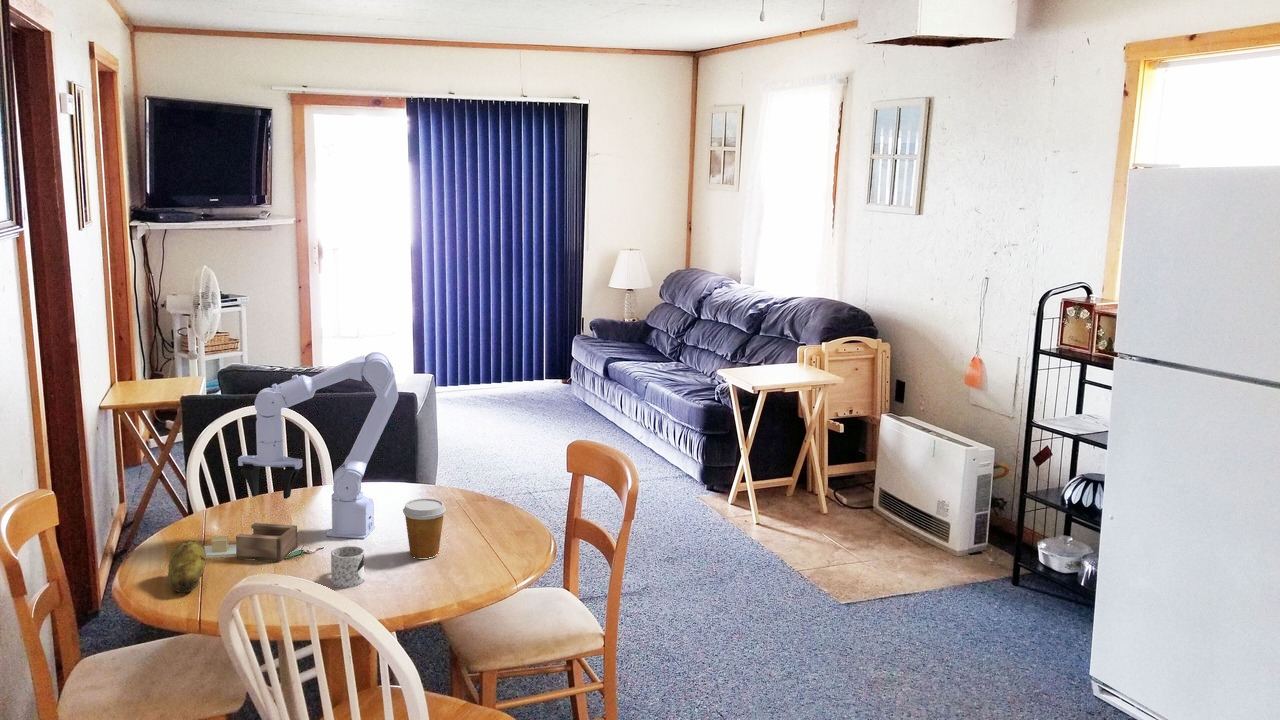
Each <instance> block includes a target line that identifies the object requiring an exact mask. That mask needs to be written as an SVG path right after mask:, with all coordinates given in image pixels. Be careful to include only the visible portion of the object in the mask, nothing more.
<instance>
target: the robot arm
mask: <svg viewBox="0 0 1280 720" xmlns="http://www.w3.org/2000/svg"><path fill="white" fill-rule="evenodd" d="M362 377H364V379H365V381H366V382H368V384H369V385H370V386H371V387H372V388H373V392H374V394H375V395H376V398H375V399H374V402H373V404H372V405H371V408H370V411H369V413H368V414H367V417H366V418H365V420H364V423H363V425H362V427H361V429H360V431H359V433H358V435H357V438H356V439H355V441H354V444H353V446H352V448H351V450H350V451H349V454H348V455H347V456H346V458H345V460H344V462H343V463H342V464H341V465H340V466H339V467H338V468H337V469H335V471H334V472H333V486H332V490H333V493H332V494H331V529H330V530H329V531H327V532H326V533H325V536H326V537H335V538H350V539H365V538H367V537H368V535H369V534H370V533H371V532H372V531H373V530H374V529H375V528H376V526H375V503H374V499H373V498H371V497H367V496H365V495H364V493H363V491H361V490H362V479H363V477H364V475H365V471H366V468H367V466H368V463H369V461H370V459H371V457H372V455H373V452H374V450H375V448H376V447H377V444H378V442H379V441H380V438H381V435H382V434H383V432H384V429H385V427H386V426H387V424H388V421H389V419H390V417H391V415H392V413H393V411H394V409H395V407H396V405H397V403H398V400H399V392H398V386H397V382H396V381H397V380H396V375H395V371H394V368H393V366H392V363H391V362H390V360H389V358H388V357H387V356H386V355H385V354H384V353H381V352H378V351H375V352H374V351H373V352H370V353H368V354H367V355H365V354H364V355H360V356H358V357H357V356H356V357H355V358H352V359H349V360H347V361H345V362H342V363H341V364H338V365H335V366H333V367H331V368H329V369H327V370H325V371H323V372H320V373H318V374H315V375H313V376H308V375H305V374H301V375H298V374H295V375H292V376H291V379H289V380H286V381H284V382H281V383H279V384H277V383H273V384H272V385H271V387H266V388H263V389H261V390H260V391H259V392H258V393H257V395H256V398H255V400H254V408H255V411H256V414H255V416H256V421H255V433H256V437H255V438H256V455H240V456H239V457H238V458H237V461H238V462H237V463H238V464H237V466H239V467H242V468H241V469H240V473H241V474H242V476H243V477H244V480H245V481H246V483H247V485H248V488H249V490H250V494H251V497H252V498H255V497H256V496H258V495H259V493H260V483H259V482H260V481H259V478H260V469H261V467H268V468H269V467H270V468H271V467H272V468H283V470H280V475H281V479H282V486H283V487H282V488H283V489H282V490H283V491H282V496H283V499H286V500H287V499H288V498H290V497H291V493H292V488H293V485H294V481H295V479H296V477H297V475H298V473H299V471H300V470H301V468H303V459H302V458H295V457H289V456H284V439H283V438H284V436H283V434H284V433H283V430H284V429H283V419H282V409H284V408H286V409H287V408H290V407H292V406H293V407H294V406H295V405H297V404H300V403H302V402H305V401H307V400H310V399H312V398H313V397H314V396H315V394H316V391H317V390H320V389H323V388H326V387H329V386H331V385H334V384H336V383H340V382H342V381H345V380H348V379H350V380H355V381H359V382H362V381H363V379H362Z"/></svg>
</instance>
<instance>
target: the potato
mask: <svg viewBox="0 0 1280 720" xmlns="http://www.w3.org/2000/svg"><path fill="white" fill-rule="evenodd" d="M204 546H205V545H204V543H202V542H199V541H198V540H186V541H182V542H179V543H178V544H177V545H176V546H175V547H174V549H173V550H172V552H171V555H170V558H169V563H168V571H167V574H168V575H167V579H168V583H169V586H170V587H171V588H172V589H173V590H174V591H177V592H179V593H188V592H191V591H193V590H194V589H196V588H197V587H198V586H199V584H200V583H201V581H200V579H201V578H202V577H203V576H204V575H203V574H204V571H205V567H206V563H207V559H208V558H207V556H206V553H205V547H204Z"/></svg>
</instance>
